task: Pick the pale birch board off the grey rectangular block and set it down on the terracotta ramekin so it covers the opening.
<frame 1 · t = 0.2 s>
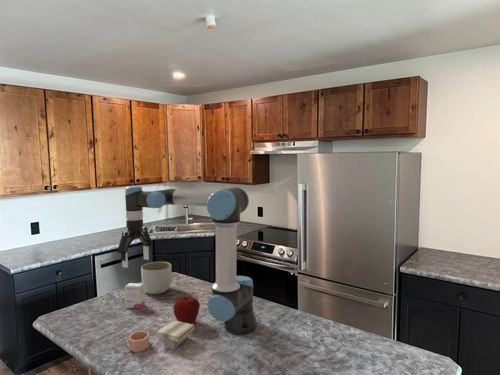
hand: (136, 263, 161), 28 cm above the countertop, fingers open, 13 cm apart
planter: (157, 291, 198), on the countertop
ink box: (135, 306, 177), on the countertop
grey rectangular block: (176, 341, 143), on the countertop
bowl: (139, 346, 139), on the countertop
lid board: (176, 332, 142), point 4 cm above the countertop, touching grey rectangular block
apple: (187, 324, 158), on the countertop
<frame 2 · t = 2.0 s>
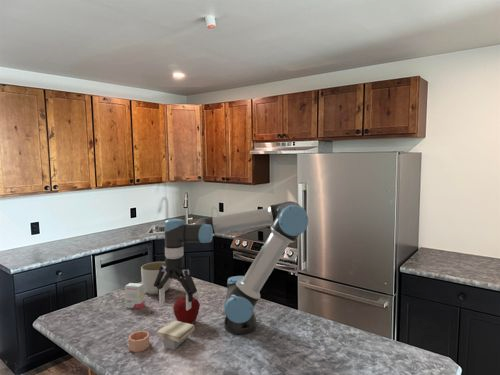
hand: (175, 306, 141), 16 cm above the countertop, fingers open, 13 cm apart
nothing on the countertop moved.
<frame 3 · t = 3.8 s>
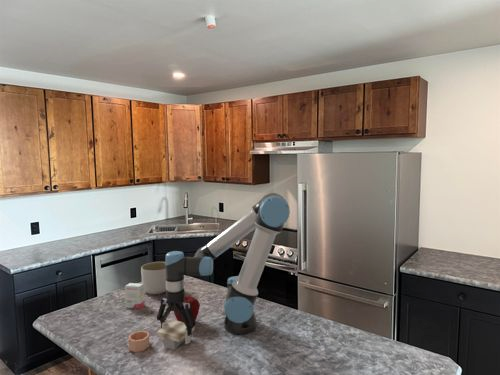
hand: (176, 339, 142), 1 cm above the countertop, fingers closed on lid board, 11 cm apart
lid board: (176, 332, 142), point 4 cm above the countertop, touching gripper, grey rectangular block
everything else where it was.
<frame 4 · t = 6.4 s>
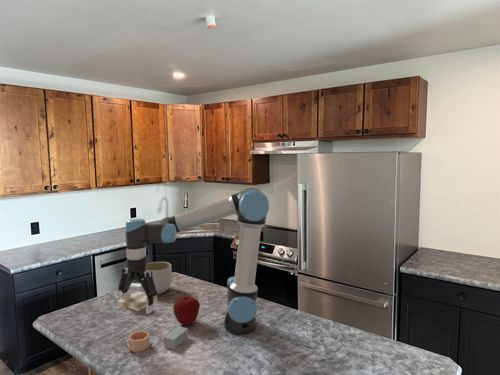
hand: (137, 309, 138), 16 cm above the countertop, fingers closed on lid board, 11 cm apart
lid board: (137, 302, 138), point 18 cm above the countertop, touching gripper
everything else where it was.
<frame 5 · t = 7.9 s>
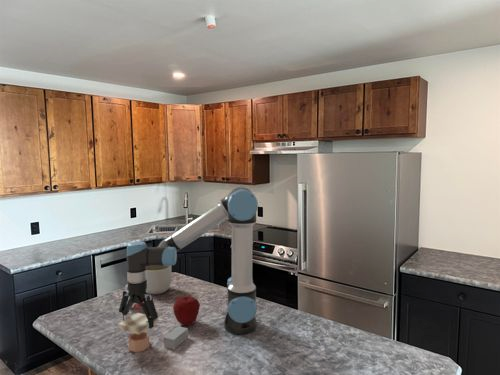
hand: (138, 332, 139), 6 cm above the countertop, fingers closed on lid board, 11 cm apart
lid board: (138, 325, 139), point 9 cm above the countertop, touching gripper
everything else where it was.
when the fingers open (4 cm above the countertop, at t = 9.1 s): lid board drops 2 cm, resting on bowl.
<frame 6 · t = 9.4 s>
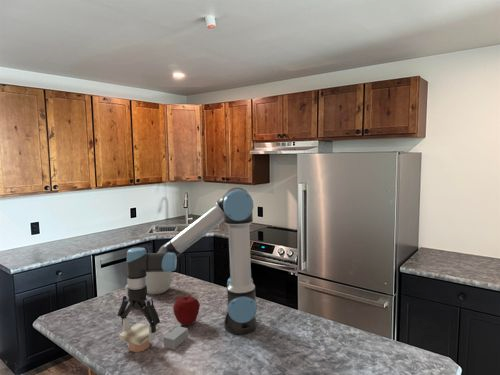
hand: (138, 336, 139), 4 cm above the countertop, fingers open, 13 cm apart
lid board: (139, 335, 139), point 4 cm above the countertop, touching bowl
everything else where it was.
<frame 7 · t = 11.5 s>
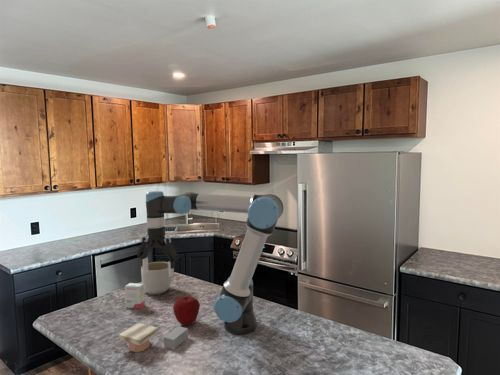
hand: (158, 274, 149), 26 cm above the countertop, fingers open, 13 cm apart
nothing on the countertop moved.
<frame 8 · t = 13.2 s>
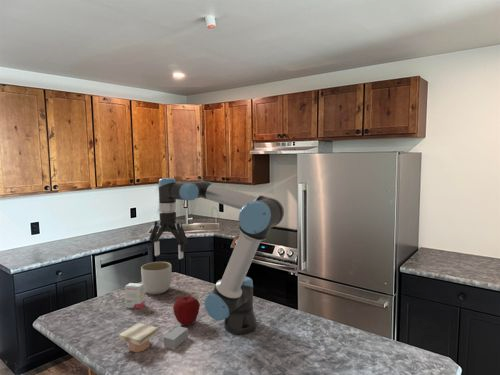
hand: (168, 256, 157), 32 cm above the countertop, fingers open, 13 cm apart
nothing on the countertop moved.
at the end: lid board 0.0 cm off-centre on the bowl, point 4.5 cm above the bowl's base; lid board tilted 0°; the gripper is holding nothing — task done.
